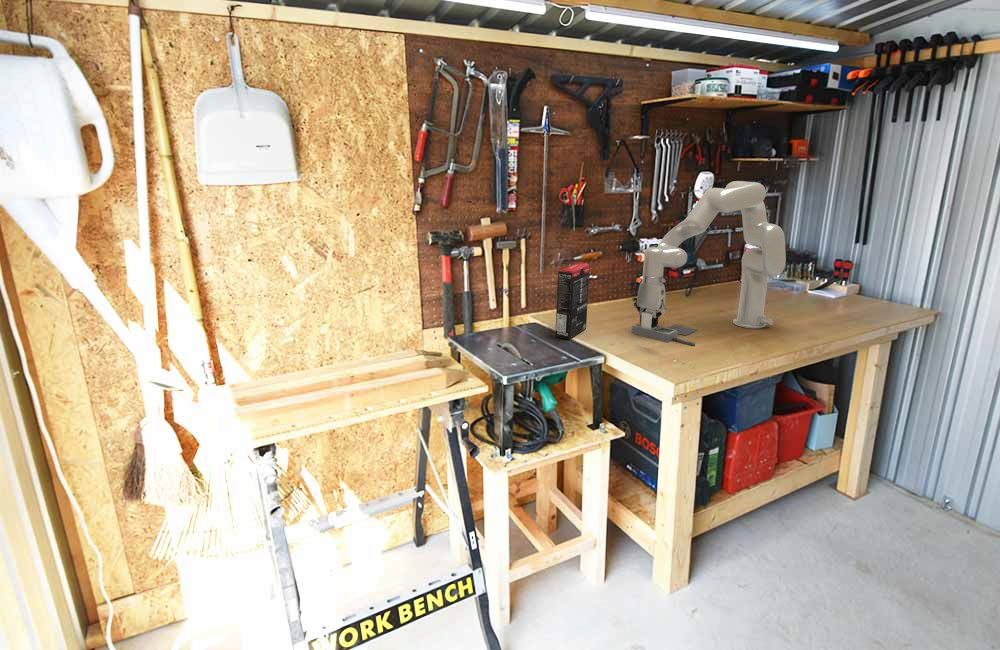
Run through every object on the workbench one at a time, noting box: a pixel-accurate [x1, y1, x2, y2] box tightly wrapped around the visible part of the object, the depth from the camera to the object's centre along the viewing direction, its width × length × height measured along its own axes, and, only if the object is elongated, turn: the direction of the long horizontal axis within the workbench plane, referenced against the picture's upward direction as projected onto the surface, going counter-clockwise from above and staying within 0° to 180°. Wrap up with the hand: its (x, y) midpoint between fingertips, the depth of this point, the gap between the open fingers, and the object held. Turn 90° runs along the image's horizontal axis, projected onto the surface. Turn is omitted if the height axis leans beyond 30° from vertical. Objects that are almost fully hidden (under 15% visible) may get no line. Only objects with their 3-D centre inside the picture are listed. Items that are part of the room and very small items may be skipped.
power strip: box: [631, 321, 696, 347], centre depth 210 cm, size 25×7×4 cm, turn 43°
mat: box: [667, 324, 699, 337], centre depth 219 cm, size 10×10×1 cm
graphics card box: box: [555, 262, 591, 340], centre depth 214 cm, size 17×7×27 cm, turn 149°
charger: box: [641, 309, 657, 330], centre depth 214 cm, size 4×4×7 cm
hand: (648, 325), depth 214 cm, fingers closed on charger, 4 cm apart
